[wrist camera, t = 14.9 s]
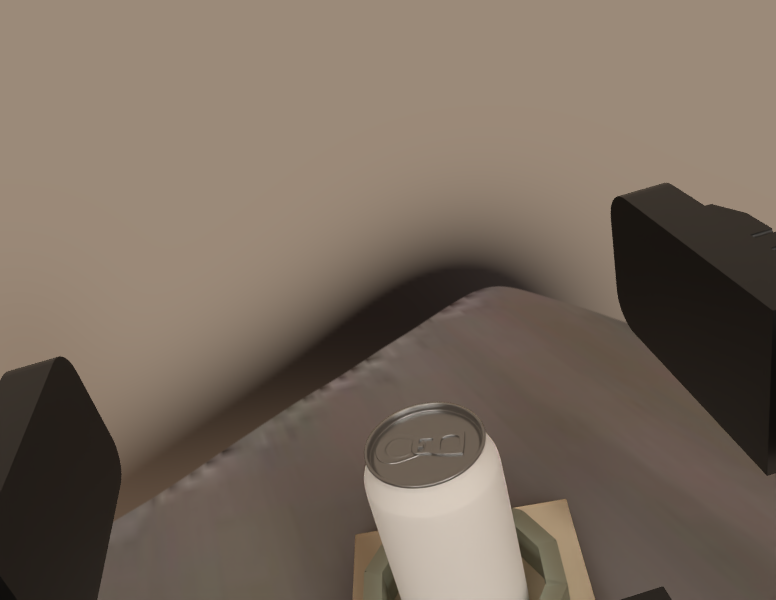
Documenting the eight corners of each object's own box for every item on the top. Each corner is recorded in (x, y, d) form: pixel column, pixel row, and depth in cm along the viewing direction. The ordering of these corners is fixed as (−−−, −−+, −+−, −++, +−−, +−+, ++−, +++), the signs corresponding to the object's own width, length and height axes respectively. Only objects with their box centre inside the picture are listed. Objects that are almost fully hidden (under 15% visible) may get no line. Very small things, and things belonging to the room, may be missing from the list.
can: (417, 563, 43) (366, 402, 37) (530, 559, 41) (496, 389, 36) (403, 669, 38) (341, 498, 32) (533, 668, 36) (493, 488, 30)
